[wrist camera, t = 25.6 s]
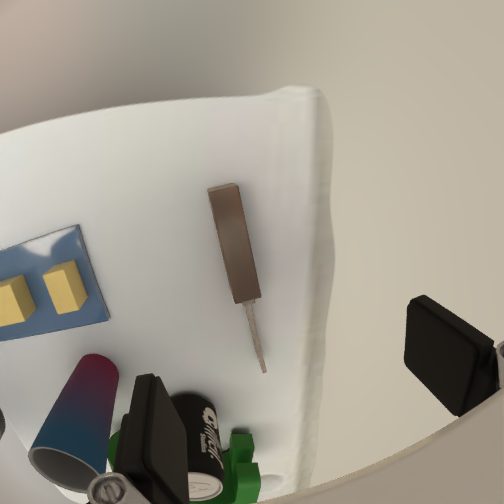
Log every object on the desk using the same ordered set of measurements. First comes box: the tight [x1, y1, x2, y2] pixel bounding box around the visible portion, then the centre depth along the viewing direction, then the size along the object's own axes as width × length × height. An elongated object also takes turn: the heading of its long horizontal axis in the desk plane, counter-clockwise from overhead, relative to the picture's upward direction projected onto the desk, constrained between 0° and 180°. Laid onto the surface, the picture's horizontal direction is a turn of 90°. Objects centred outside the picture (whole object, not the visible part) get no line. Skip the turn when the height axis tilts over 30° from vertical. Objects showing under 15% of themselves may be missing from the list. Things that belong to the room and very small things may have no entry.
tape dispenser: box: [107, 430, 261, 504], centre depth 31 cm, size 18×9×6 cm
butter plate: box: [0, 225, 110, 342], centre depth 27 cm, size 18×10×1 cm, turn 101°
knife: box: [207, 183, 267, 373], centre depth 29 cm, size 2×19×4 cm, turn 12°
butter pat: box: [43, 260, 88, 314], centre depth 26 cm, size 2×4×3 cm, turn 11°
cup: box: [28, 354, 119, 494], centre depth 24 cm, size 7×7×15 cm
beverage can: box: [171, 394, 225, 501], centre depth 29 cm, size 7×7×12 cm
